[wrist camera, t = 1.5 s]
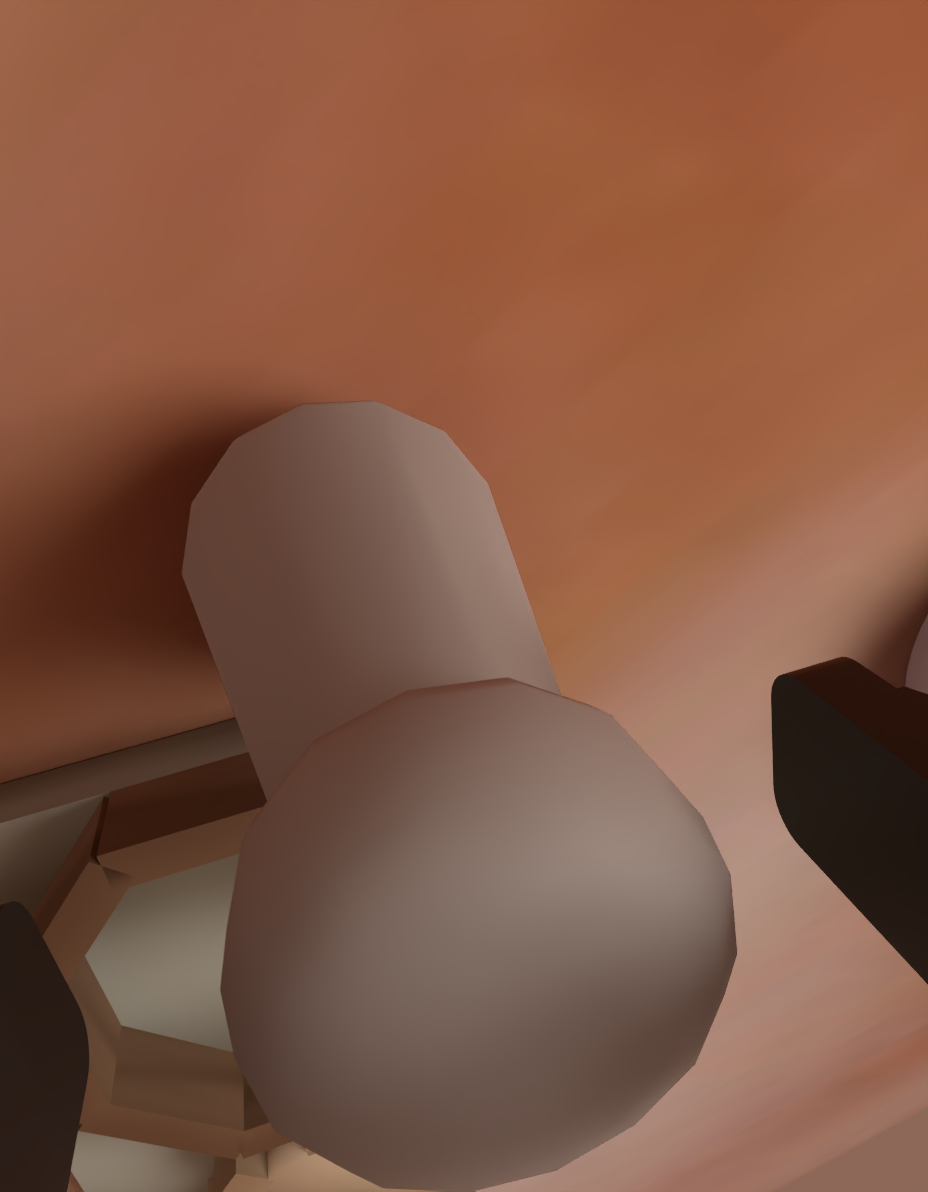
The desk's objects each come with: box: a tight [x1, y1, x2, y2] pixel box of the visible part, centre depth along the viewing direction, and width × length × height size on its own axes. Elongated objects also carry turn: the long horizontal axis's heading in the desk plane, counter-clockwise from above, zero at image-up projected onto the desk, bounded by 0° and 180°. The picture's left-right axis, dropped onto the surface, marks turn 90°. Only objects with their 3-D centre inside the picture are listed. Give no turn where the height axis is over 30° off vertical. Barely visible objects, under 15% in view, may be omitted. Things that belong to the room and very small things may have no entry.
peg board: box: [0, 718, 475, 1192], centre depth 20 cm, size 17×13×6 cm
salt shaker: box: [182, 401, 737, 1192], centre depth 12 cm, size 6×6×13 cm
